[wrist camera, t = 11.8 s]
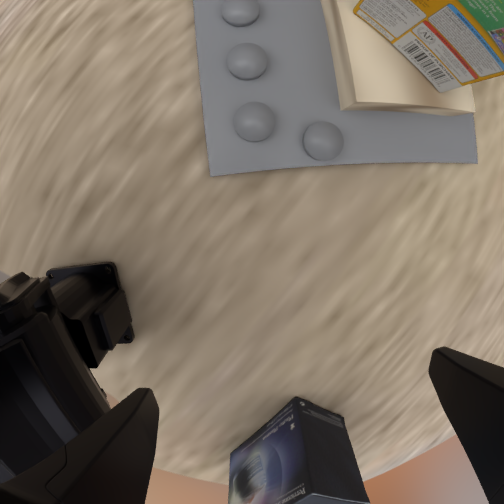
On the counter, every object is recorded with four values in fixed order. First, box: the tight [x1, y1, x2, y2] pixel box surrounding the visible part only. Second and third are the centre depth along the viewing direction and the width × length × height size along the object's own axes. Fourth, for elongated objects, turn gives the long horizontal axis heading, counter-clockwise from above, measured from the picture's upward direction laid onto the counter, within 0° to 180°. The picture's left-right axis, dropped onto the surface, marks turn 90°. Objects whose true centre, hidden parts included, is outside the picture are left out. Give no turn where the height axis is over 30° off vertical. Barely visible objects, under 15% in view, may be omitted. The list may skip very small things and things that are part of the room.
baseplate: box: [193, 0, 478, 177], centre depth 17 cm, size 20×14×2 cm
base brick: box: [320, 0, 476, 116], centre depth 15 cm, size 9×9×3 cm
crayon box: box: [353, 0, 504, 93], centre depth 8 cm, size 7×3×12 cm, turn 52°
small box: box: [228, 397, 370, 504], centre depth 21 cm, size 11×6×10 cm, turn 145°
